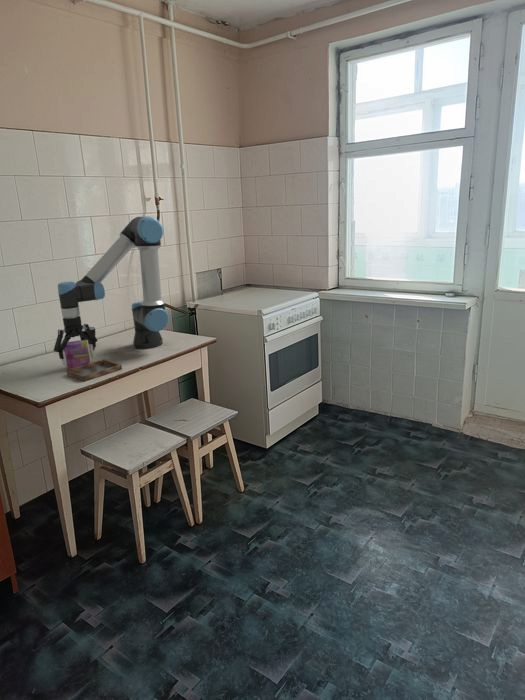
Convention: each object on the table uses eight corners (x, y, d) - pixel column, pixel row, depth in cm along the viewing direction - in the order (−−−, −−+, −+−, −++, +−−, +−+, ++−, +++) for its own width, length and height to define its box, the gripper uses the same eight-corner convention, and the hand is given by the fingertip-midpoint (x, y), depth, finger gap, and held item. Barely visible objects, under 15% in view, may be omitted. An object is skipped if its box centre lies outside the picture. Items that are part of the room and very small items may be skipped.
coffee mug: (94, 349, 257) (91, 330, 254) (78, 350, 257) (75, 331, 254) (102, 343, 268) (99, 325, 265) (86, 343, 268) (83, 325, 265)
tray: (104, 363, 232) (103, 359, 231) (122, 369, 222) (121, 364, 222) (67, 375, 219) (66, 370, 218) (83, 381, 209) (83, 376, 209)
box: (67, 369, 226) (63, 345, 223) (68, 366, 231) (64, 341, 228) (91, 366, 229) (87, 342, 225) (92, 363, 234) (88, 339, 230)
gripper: (92, 310, 234) (98, 353, 240) (40, 321, 217) (48, 367, 223) (100, 312, 229) (107, 355, 235) (48, 323, 212) (56, 370, 218)
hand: (78, 361), depth 229 cm, fingers open, 13 cm apart
